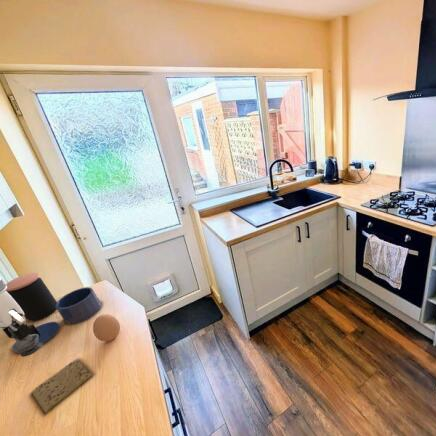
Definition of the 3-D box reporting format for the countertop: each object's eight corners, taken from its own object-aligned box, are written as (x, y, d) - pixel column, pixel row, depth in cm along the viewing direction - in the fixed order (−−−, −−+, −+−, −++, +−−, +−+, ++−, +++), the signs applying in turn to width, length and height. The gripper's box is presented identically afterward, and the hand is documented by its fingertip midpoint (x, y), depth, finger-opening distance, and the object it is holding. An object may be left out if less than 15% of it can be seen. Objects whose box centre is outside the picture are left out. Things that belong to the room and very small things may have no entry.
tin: (58, 322, 103) (47, 307, 99) (87, 300, 113) (78, 286, 110) (80, 326, 99) (70, 310, 96) (108, 303, 110) (99, 288, 107)
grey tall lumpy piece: (15, 355, 79) (-8, 329, 74) (35, 340, 84) (16, 314, 79) (27, 358, 77) (6, 332, 72) (48, 342, 82) (29, 316, 77)
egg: (125, 337, 91) (113, 316, 87) (101, 350, 87) (87, 329, 83) (122, 325, 97) (111, 305, 92) (99, 337, 93) (86, 316, 88)
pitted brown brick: (31, 393, 76) (29, 391, 75) (77, 359, 85) (75, 358, 84) (44, 414, 70) (43, 412, 69) (92, 375, 79) (91, 373, 78)
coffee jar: (54, 301, 116) (33, 270, 108) (63, 308, 110) (41, 276, 103) (24, 317, 108) (-1, 285, 100) (32, 325, 102) (6, 292, 95)
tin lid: (5, 351, 92) (-6, 339, 89) (45, 322, 104) (37, 311, 101) (30, 356, 88) (20, 345, 86) (68, 326, 100) (61, 315, 97)
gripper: (-51, 296, 69) (-12, 341, 77) (-13, 303, 65) (25, 350, 72) (-16, 279, 75) (17, 322, 83) (21, 284, 71) (52, 329, 79)
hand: (20, 334), depth 78 cm, fingers closed on grey tall lumpy piece, 3 cm apart
